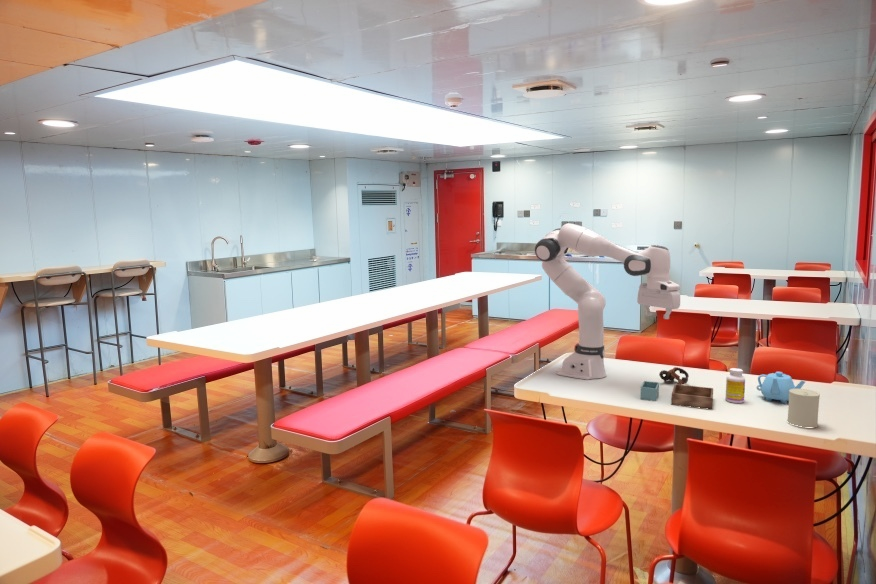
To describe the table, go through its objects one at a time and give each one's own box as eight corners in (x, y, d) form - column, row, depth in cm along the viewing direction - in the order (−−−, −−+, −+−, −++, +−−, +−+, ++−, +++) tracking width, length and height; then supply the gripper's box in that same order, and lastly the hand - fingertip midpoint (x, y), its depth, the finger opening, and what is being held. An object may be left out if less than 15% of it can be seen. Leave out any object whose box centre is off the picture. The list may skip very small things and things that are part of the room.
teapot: (807, 405, 222) (809, 376, 221) (772, 406, 222) (774, 377, 221) (783, 393, 238) (784, 367, 236) (750, 394, 237) (752, 367, 236)
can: (789, 426, 200) (792, 393, 198) (784, 418, 208) (786, 386, 207) (820, 429, 197) (823, 395, 195) (814, 421, 205) (816, 388, 204)
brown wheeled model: (678, 381, 260) (687, 367, 255) (684, 395, 252) (693, 382, 248) (653, 375, 259) (661, 361, 255) (658, 389, 251) (667, 375, 247)
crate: (671, 404, 225) (671, 393, 225) (674, 394, 238) (674, 384, 237) (711, 409, 219) (712, 398, 218) (712, 399, 231) (713, 388, 231)
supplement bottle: (745, 404, 224) (747, 372, 223) (726, 402, 227) (727, 371, 225) (742, 399, 231) (744, 368, 229) (724, 397, 233) (725, 366, 231)
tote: (656, 401, 230) (656, 388, 229) (640, 399, 232) (640, 387, 232) (658, 394, 239) (659, 382, 238) (643, 392, 241) (643, 380, 241)
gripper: (634, 282, 247) (633, 314, 249) (671, 287, 229) (670, 321, 230) (645, 282, 250) (644, 313, 251) (683, 286, 232) (682, 320, 233)
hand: (657, 317), depth 241 cm, fingers open, 8 cm apart
